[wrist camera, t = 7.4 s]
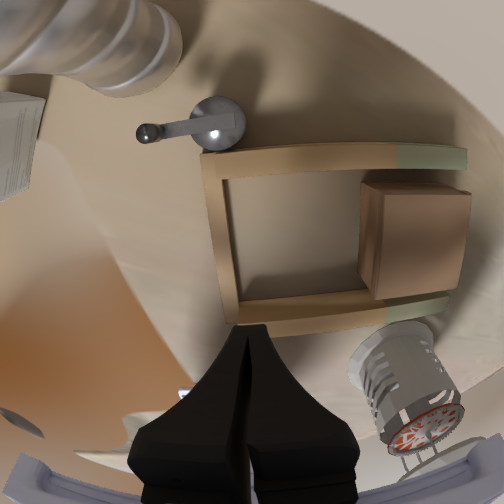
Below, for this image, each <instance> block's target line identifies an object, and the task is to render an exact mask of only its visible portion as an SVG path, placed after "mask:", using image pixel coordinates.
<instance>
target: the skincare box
mask: <svg viewBox="0 0 504 504" xmlns="http://www.w3.org/2000/svg"><path fill="white" fill-rule="evenodd" d="M44 104H45V99H43V98H39V97H35V96H30V95H25V94H19V93H14V92H8V91H0V202H2V201H4V200H6V199H8V198H10V197H12V196H14V195H16V194H18V193H20V192H22V191H25V190H27V189H28V188H29V182H30V174H31V166H32V160H33V154H34V149H35V143H36V138H37V134H38V129H39V124H40V120H41V115H42V112H43V108H44Z"/></svg>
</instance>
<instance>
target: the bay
mask: <svg viewBox="0 0 504 504" xmlns="http://www.w3.org/2000/svg"><path fill="white" fill-rule="evenodd" d="M200 162H201V169H202V177H203V184H204V191H205V198H206V205H207V212H208V218H209V225H210V231H211V238H212V244H213V250H214V256H215V262H216V269H217V274H218V280H219V286H220V292H221V298H222V303H223V309H224V314H225V320H226V324H233V323H238V326H239V325H254V324H265V325H266V326H267V330H268V334H269V336H270V338H277V337H288V336H298V335H307V334H316V333H324V332H332V331H339V330H346V329H353V328H360V327H366V326H373V325H379V324H385V323H390V322H396V321H401V320H407V319H412V318H417V317H422V316H427V315H432V314H436V313H441V312H445V311H447V307H448V303H449V299H450V295H449V294H448V293H447V292H446V291H445V290H444V291H437V292H431V293H425V294H418V295H411V296H404V297H397V298H389V299H381V300H373V298H372V297H371V295H370V290H369V289H368V288H367V289H359V290H351V291H343V292H334V293H326V294H317V295H307V296H298V297H287V298H277V299H266V300H254V301H242V302H239V296H238V289H237V282H236V275H235V268H234V260H233V253H232V246H231V239H230V231H229V224H228V216H227V208H226V201H225V193H224V185H223V179H231V178H241V177H250V176H261V175H272V174H284V173H298V172H313V171H331V170H356V169H450V170H467V149H464V148H459V147H453V146H448V145H438V144H422V143H398V142H333V143H308V144H291V145H277V146H265V147H254V148H244V149H235V150H227V151H218V152H211V153H203V154H200Z"/></svg>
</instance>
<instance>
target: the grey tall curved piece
mask: <svg viewBox="0 0 504 504" xmlns="http://www.w3.org/2000/svg"><path fill="white" fill-rule="evenodd" d="M433 347H434V340H433V333H432V331H431V330H430V329H429V327H428V326H427V325H426V324H423V323H420V322H417V321H414V320H411V321H403V322H396V323H393V324H391V325H389V326H387V327H384V328H382V329H380V330H378V331H376V332H375V333H374V334H373V335H371V336H370V337H369V338H368V339H366V340H365V341H364V342H362V343H361V345H360V346H359V347H358V349H357V350H356V352H355V353H354V354H353V356H352V357H351V359H350V363H349V367H348V371H347V373H348V376H349V379H350V382H351V383H352V384H353V385H354V386H356V387H357V388H359V389H360V390H364V393H365V395H366V399H367V397H368V398H369V399H367V402H368V405H369V407H370V406H371V407H372V410H371V407H370V411H371V414H372V415H373V419H374V417H376V421H375V419H374V423H375V426H376V428H377V432H378V435H379V437H380V440H381V441H382V442H384V443H385V444H387V445H388V447H387V448H388V453H389V454H391V455H394V456H397V457H398V456H401V459H402V462H403V465H404V468H405V470H406V471H407V473H406V474H405V475H403V476H402V477H401V479H399V481H398V482H401V481H404V480H407V479H410V478H413V477H416V476H419V475H422V474H425V473H427V472H430V471H433V470H435V469H438V468H440V467H443V466H445V465H448V464H450V463H452V462H455V461H457V460H459V459H461V458H463V457H466V456H467V454H468V453H469V451H470V450H471V449H472V448H473V447H474V446H476V445H477V444H479V443H480V442H482V441H484V440H486V438H484V437H474V438H470V439H468V440H465V441H462V442H460V443H457V444H455V445H453V446H451V447H449V448H448V449H446V450H444V451H442V452H440V453H438V452H437V450H436V448H435V445H434V444H435V443H438V441H439V442H440V441H441V439H442V440H443V439H444V437H447V435H449V433H452V431H453V429H454V430H455V428H456V427H457V425H458V424H459V423H460V422H461V419H462V418H463V415H464V411H465V409H464V408H463V406H462V405H460V398H461V395H460V393H459V391H458V390H457V388H456V386H455V385H454V383H453V381H452V379H451V378H450V377H449V375H448V373H447V372H446V370H445V368H444V367H443V366H442V364H441V362H440V361H438V360H439V359H438V357H437V356H436V355H435V353H434V352H433V350H432V349H433ZM435 358H436V360H437V362H435ZM440 367H441V369H442V372H441V369H440ZM437 368H438V369H437ZM443 368H444V369H443ZM444 370H445V372H444ZM391 390H392V391H391ZM443 390H447V391H446V394H445V395H444V396H443V397H442V398H441V399H440V400H439V401H438V402H435V403H433V404H431V405H430V403H429V400H431V399H433V398H435V397H436V396H437V395H439V394H440V393H441V392H442V391H443ZM451 390H454V396H453V399H452V402H451V403H448V404H444V403H445V402H446V401H447V400H448V399H449V396H450V393H451ZM372 399H374V401H373V402H372V403H371V400H372ZM442 404H444V405H442ZM376 408H377V411H378V412H375V410H376ZM404 408H405V410H406V412H407V415H408V417H409V419H410V422H408V423H407V424H405V425H404V424H403V422H402V419H401V417H400V414H399V411H401V410H402V409H404ZM383 428H384V431H385V432H383V433H380V432H381V431H382V429H383ZM431 446H432V447H433V450H434V452H435V455H434V456H433V457H431V458H429V459H428V460H426V461H424V462H422V460H421V458H420V455H419V453H418V452H419V451H420V452H421V451H422V450H425V449H426V448H427V449H428V447H431ZM413 453H414V454H415V453H416V455H417V458H418V460H419V462H420V464H419V465H417V466H416V467H415V468H413V469H412V470H411V471H409V470H408V468H407V467H406V464H405V461H404V458H403V456H404V455H405V456H406V455H409V454H413ZM398 482H397V483H398Z"/></svg>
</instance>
